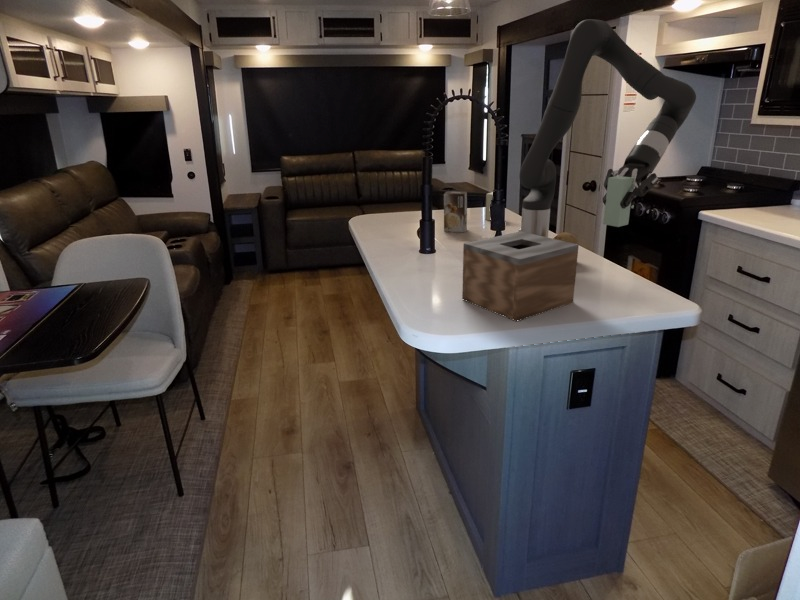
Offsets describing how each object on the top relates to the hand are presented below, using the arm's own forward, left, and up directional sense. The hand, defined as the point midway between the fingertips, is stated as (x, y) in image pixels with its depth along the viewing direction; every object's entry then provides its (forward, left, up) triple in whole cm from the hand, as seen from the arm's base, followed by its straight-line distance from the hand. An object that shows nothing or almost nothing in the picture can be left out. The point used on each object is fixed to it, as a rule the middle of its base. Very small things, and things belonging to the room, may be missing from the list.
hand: (613, 204), depth 138 cm
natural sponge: (-31, +22, -26) cm, 46 cm away
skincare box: (-96, +53, -26) cm, 113 cm away
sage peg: (0, +2, -5) cm, 6 cm away
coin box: (-14, -19, -26) cm, 35 cm away
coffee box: (-90, +25, -26) cm, 97 cm away
